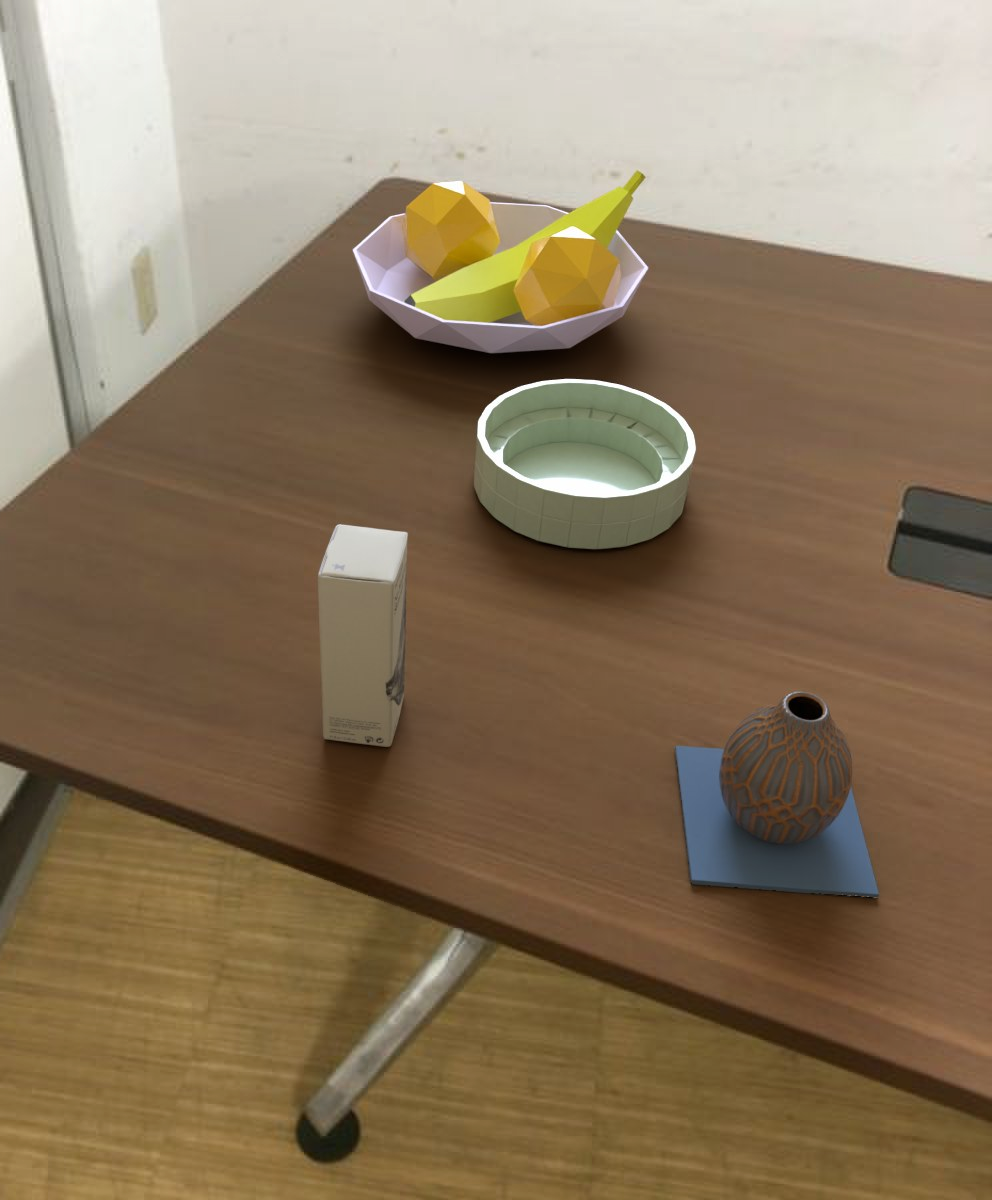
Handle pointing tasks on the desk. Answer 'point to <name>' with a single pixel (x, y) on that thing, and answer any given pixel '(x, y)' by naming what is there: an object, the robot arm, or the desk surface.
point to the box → (363, 634)
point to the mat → (765, 842)
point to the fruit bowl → (502, 269)
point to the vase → (786, 770)
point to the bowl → (583, 463)
